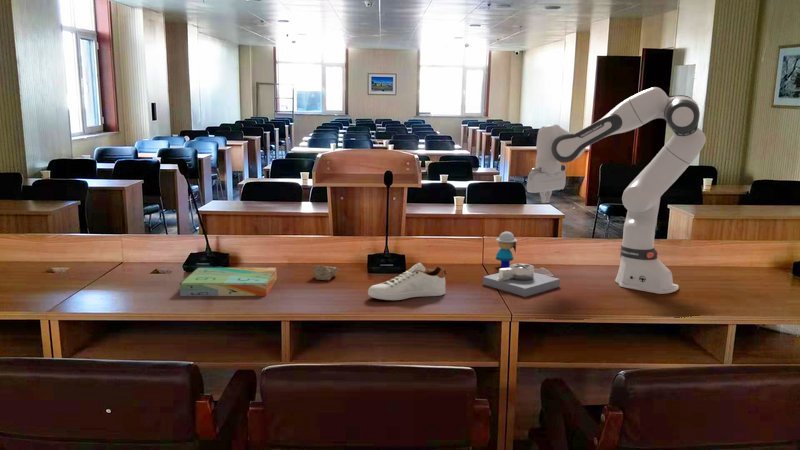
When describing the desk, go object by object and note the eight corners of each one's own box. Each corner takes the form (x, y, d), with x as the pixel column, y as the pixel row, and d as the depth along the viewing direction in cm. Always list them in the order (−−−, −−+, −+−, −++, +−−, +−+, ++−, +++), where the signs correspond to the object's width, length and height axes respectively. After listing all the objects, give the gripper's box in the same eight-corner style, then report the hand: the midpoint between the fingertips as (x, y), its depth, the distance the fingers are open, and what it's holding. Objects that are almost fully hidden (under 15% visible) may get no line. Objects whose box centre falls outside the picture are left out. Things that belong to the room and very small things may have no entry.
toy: (517, 269, 258) (519, 233, 255) (496, 269, 258) (497, 233, 255) (514, 264, 266) (516, 229, 264) (493, 264, 267) (495, 229, 264)
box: (197, 267, 240) (276, 267, 241) (198, 280, 241) (276, 280, 242) (179, 283, 219) (266, 283, 220) (180, 297, 220) (266, 297, 221)
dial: (524, 272, 240) (525, 261, 239) (538, 278, 232) (539, 267, 231) (494, 276, 235) (494, 264, 234) (507, 282, 227) (507, 270, 226)
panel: (559, 286, 234) (559, 277, 233) (525, 296, 221) (525, 287, 221) (517, 275, 249) (517, 266, 248) (482, 284, 236) (483, 275, 236)
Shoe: (363, 296, 221) (362, 263, 219) (436, 288, 232) (437, 256, 229) (373, 305, 212) (373, 270, 209) (449, 296, 222) (450, 262, 220)
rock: (337, 274, 238) (324, 258, 238) (320, 288, 240) (307, 271, 239) (341, 268, 248) (328, 252, 247) (325, 281, 249) (312, 265, 249)
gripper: (536, 169, 234) (535, 206, 236) (569, 166, 247) (567, 201, 249) (523, 167, 239) (521, 203, 241) (556, 165, 252) (554, 199, 254)
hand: (545, 202), depth 245 cm, fingers closed
